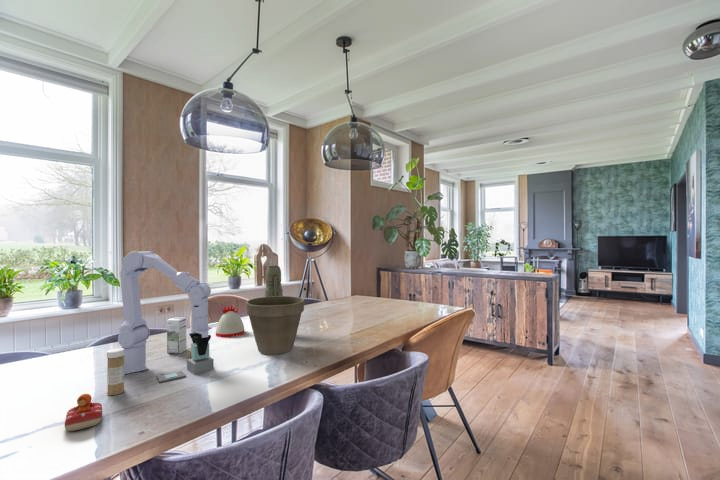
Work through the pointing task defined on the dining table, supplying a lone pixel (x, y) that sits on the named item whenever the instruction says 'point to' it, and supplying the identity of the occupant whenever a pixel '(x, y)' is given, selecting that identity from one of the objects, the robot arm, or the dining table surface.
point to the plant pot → (275, 322)
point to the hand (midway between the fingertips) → (200, 353)
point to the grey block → (200, 365)
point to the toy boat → (83, 414)
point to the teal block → (195, 352)
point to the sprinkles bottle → (115, 371)
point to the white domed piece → (229, 324)
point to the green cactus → (273, 282)
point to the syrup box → (176, 335)
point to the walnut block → (189, 353)
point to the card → (171, 376)
